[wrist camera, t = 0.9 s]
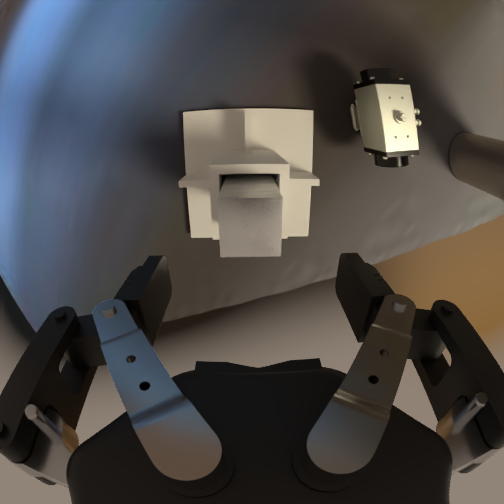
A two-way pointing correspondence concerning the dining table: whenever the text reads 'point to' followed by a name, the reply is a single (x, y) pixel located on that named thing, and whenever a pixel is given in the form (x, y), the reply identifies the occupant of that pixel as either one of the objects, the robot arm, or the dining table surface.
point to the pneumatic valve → (386, 117)
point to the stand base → (248, 161)
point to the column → (250, 216)
